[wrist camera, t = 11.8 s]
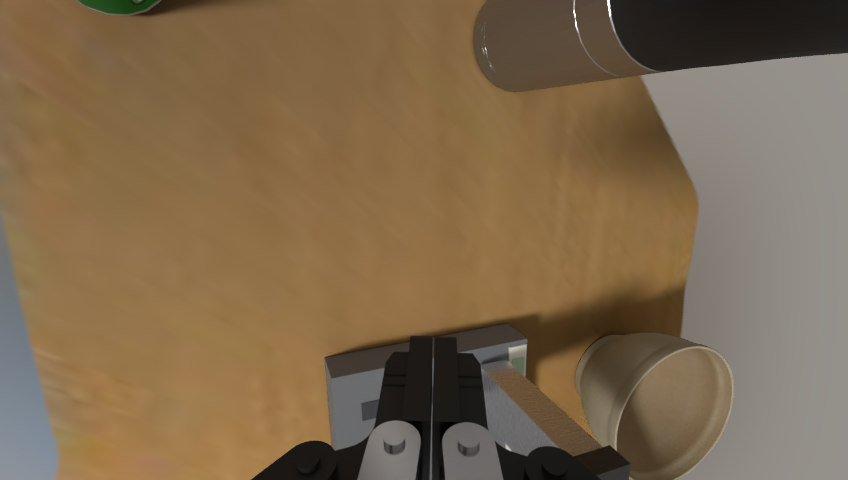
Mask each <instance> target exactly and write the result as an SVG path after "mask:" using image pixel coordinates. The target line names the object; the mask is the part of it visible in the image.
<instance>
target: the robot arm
mask: <svg viewBox="0 0 848 480" xmlns="http://www.w3.org/2000/svg"><path fill="white" fill-rule="evenodd" d="M473 44H474V52H475V56H476V59H477V62H478V65H479V67H480V68H481V70H482V72H483V74H484V75H485V76H486V77H487V79H488V80H489V81H490V82H492V83H493V84H494V85H495V86H497V87H499V88H501V89H503V90H505V91H510V92H523V91H530V90H537V89H546V88H553V87H560V86H568V85H575V84H582V83H589V82H596V81H604V80H611V79H618V78H625V77H631V76H638V75H645V74H651V73H660V72H666V71H674V70H681V69H689V68H698V67H709V66H720V65H729V64H736V63H746V62H754V61H762V60H771V59H780V58H791V57H801V56H813V55H827V54H840V53H848V0H487V1H486V3H485V4H484V5H483V7H482V8H481V10H480V12H479V14H478V17H477V19H476V23H475V27H474V35H473ZM432 372H433V336H411V337H410V346H409V352H393V353H392V355H391V356H390V357H389V359H388V360H387V361H386V363H385V369H384V377H383V381H382V387H381V392H380V398H379V404H378V409H377V415H376V421H375V425H374V428H373V430H372V432H371V433H370V434H369V436H368V437H367V438H365V439H364V440H363V441H361V442H360V443H358V444H356V445H354V446H351V447H347V448H343V449H339V450H336V451H335V450H334V449H333V448H332V447H331V446H330V445H329V444H327V443H325V442H322V441H308V442H304V443H301V444H299V445H297V446H295V447H294V448H292V449H291V450H290V451H288V452H287V453H286V454H284V455H283V456H282V457H280V458H279V459H278V460H276V461H275V462H274V463H273V464H271V465H270V466H269V467H267V468H266V469H265V470H263V471H262V472H261V473H259V474H258V475H257V476H255V477H254V478H253V479H251V480H430V451H431V417H432V480H601V479H600V478H599V477H597V476H596V475H595V474H594V473H593V472H591V471H590V470H589V469H588V468H586V467H585V466H584V465H583V464H582V463H580V462H579V461H578V460H577V459H576V458H574V457H573V456H572V455H571V454H569V453H568V452H566V451H564V450H562V449H560V448H556V447H551V446H543V447H539V448H536V449H534V450H532V451H531V452H530V453H529V454H528V456H525V455H521V454H518V453H515V452H512V451H509V450H507V449H505V448H503V447H502V446H500V445H499V444H498V443H497V442H496V441H495V440H494V438H493V436H492V434H491V433H490V432H489V430H488V425H487V416H486V407H485V399H484V390H483V381H482V373H481V364H480V363H479V361H478V360H477V359H476V357H475V356H474V354H473V353H457V338H456V337H434V373H433V410H432Z"/></svg>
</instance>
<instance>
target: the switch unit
mask: <svg viewBox="0 0 848 480" xmlns="http://www.w3.org/2000/svg"><path fill="white" fill-rule="evenodd" d="M438 337H456V338H457V353H473V354H474V356H475V357H476V359H477V360H478V361H479V363H480V364H481V365H482V364H487V363H492V362H496V361H501V360H507V361H508V362H509V363H510V364H512V365H513V366H514V367H515V368H516V369H517V370H518V371H519V372H520V373H522V374H523V375H524V376H525V377H526V365H527V341H528V339H527V338H526V337H525V336H523V335H522V334H521V333H519V332H518V331H517V330H515V329H514V328H513V327H511V326H510V325H509V324H502V325H496V326H491V327H486V328H480V329H475V330H470V331H464V332H459V333H454V334H448V335H443V336H438ZM409 346H410V342H405V343H400V344H395V345H389V346H384V347H379V348H373V349H368V350H363V351H357V352H352V353H347V354H341V355H336V356H331V357H325V368H326V381H327V394H328V406H329V419H330V432H331V444H332V448H333V449H334V450H335V451H336V450H339V449H343V448H347V447H351V446H354V445H356V444H358V443H360V442H361V441H363V440H364V439H365V438H367V437H368V436H369V434H370V433H371V432H372V430H373V428H374V425H375V421H376V415H377V409H378V404H379V398H380V392H381V387H382V381H383V377H384V369H385V363H386V361H387V360H388V359H389V357H390V356H391V355H392V353H393V352H409ZM433 373H434V337H433V372H432V410H433ZM487 425H488V430H489V432H490V433H491V434H492V436H493V438H494V440H495V441H496V442H497V443H498V444H499V445H500V446H502V447H503V448H505V449H507V450H509V451H511V449H510V448H509V447H508V446H507V444H506V443H505V442H504V441H503V440H502V438H501V437H500V436H499V435H498V433H497V432H496V431H495V430H494V428H493V427H492V426H491V425H490V423H489V422H488V421H487ZM430 480H432V417H431V451H430Z"/></svg>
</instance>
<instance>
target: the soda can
mask: <svg viewBox="0 0 848 480" xmlns="http://www.w3.org/2000/svg"><path fill="white" fill-rule="evenodd" d="M77 1H79V2H80V3H82V4H83V5H85V6H86V7H88V8H90V9H93V10H96V11H99V12H102V13H105V14H108V15H117V16H132V15H136V14H139V13H143V12H146V11H148V10H150V9H151V8H153V7H154V6H155V5H157V4H158V3H159V2H161V0H77Z"/></svg>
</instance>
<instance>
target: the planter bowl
mask: <svg viewBox="0 0 848 480" xmlns="http://www.w3.org/2000/svg"><path fill="white" fill-rule="evenodd" d="M575 383H576V389H577V392H578V394H579V395H580V397H581V402H582V407H583V411H584V414H585V417H586V420H587V422H588V424H589V427H590V429H591V431H592V433H593V434H594V436H595V438H596V439H597V441H598V443H599V444H600V445H601V446H602V447H605V446H608V445H610V446H611V447H612V448H614V449H615V450H616V451H617V452H618V453H619V454H620V455H621V456H623V457H624V458H625V459H626V460H627V461H628V462H629V463H631V467H630V476H629V479H630V480H677V479H679V478H681V477H683V476H684V475H686V474H687V473H689V472H690V471H692V470H693V469H694V468H695V467H696V466H697V465H698V464H699V463H700V462H701V461H702V460H703V459H704V458H705V457H706V456H707V455H708V454H709V452H710V451H711V450H712V448H713V447H714V446H715V444H716V443H717V441H718V440H719V438H720V436H721V434H722V433H723V431H724V429H725V427H726V425H727V422H728V419H729V417H730V413H731V410H732V404H733V399H734V381H733V375H732V371H731V369H730V366H729V364H728V363H727V361H726V360H725V359H724V357H723V356H722V355H721V354H720V353H719V352H717V351H716V350H714V349H712V348H709V347H707V346H704V345H701V344H696V343H693V342H690V341H688V340H685V339H683V338H679V337H676V336H672V335H667V334H662V333H633V334H627V335H623V336H622V335H609V336H605V337H603V338H601V339H599V340H597V341H596V342H595V343H593V344H592V345H591V346H590V347H589V348H588V349H587V350H586V352H585V353H584V355H583V356H582V358H581V360H580V362H579V364H578V367H577V370H576V375H575Z"/></svg>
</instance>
